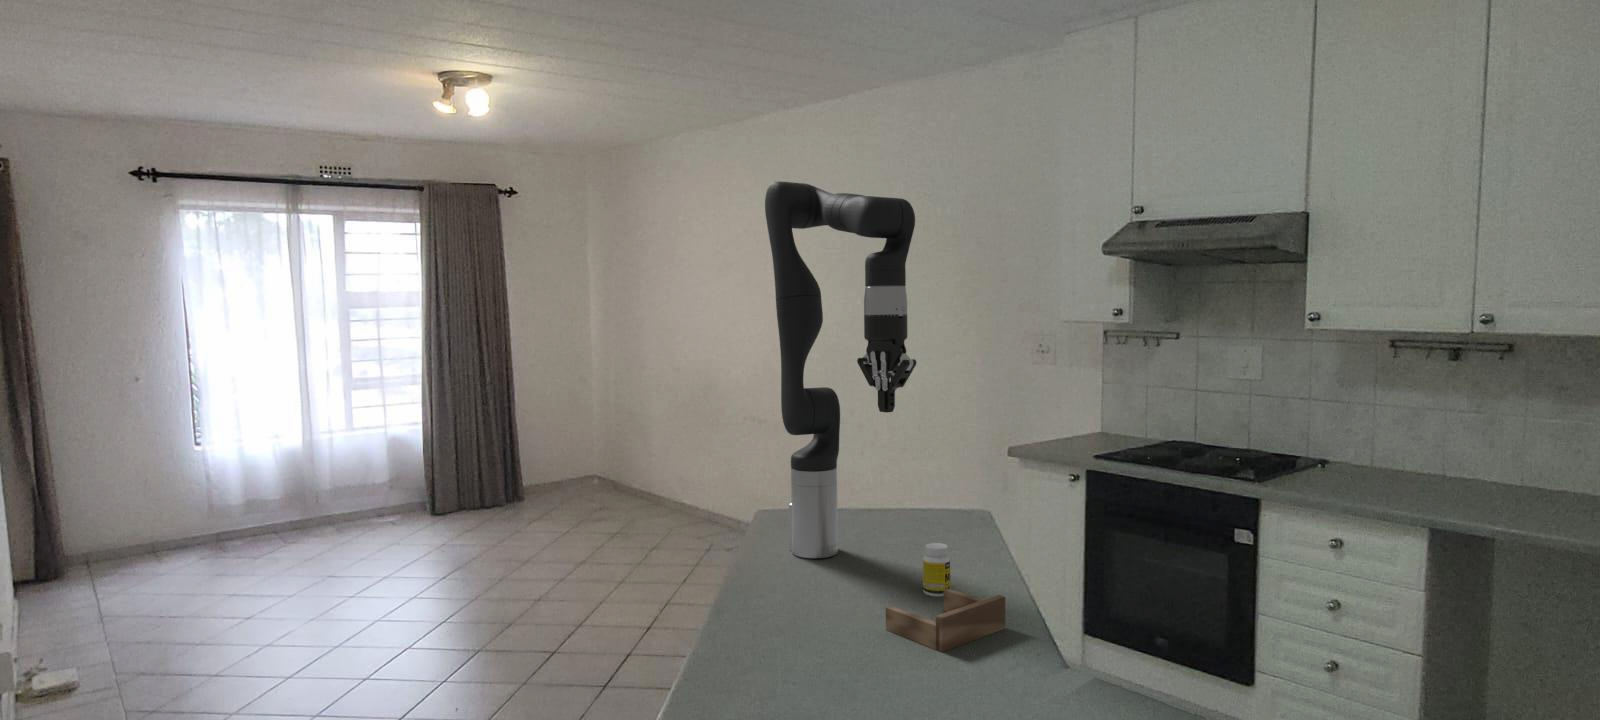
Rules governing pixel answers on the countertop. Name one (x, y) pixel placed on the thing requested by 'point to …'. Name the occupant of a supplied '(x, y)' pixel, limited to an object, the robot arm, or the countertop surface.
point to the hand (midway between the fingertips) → (886, 411)
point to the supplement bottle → (936, 569)
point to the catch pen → (950, 621)
